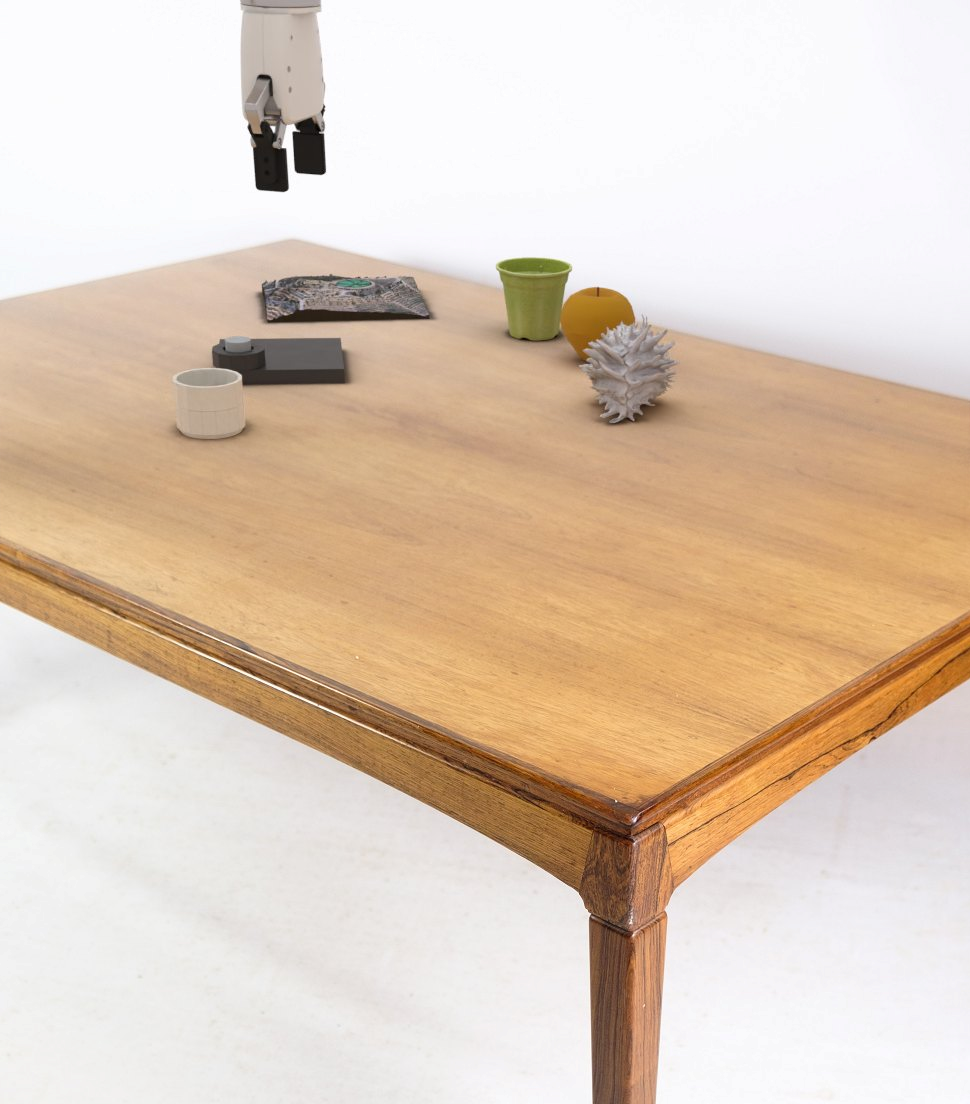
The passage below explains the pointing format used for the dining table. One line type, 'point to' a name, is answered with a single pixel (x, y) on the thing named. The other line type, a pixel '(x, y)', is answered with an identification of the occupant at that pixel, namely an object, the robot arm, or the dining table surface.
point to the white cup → (209, 403)
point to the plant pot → (534, 295)
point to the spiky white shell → (629, 369)
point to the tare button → (238, 344)
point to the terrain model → (342, 299)
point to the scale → (285, 361)
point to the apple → (593, 316)
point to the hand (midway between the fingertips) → (292, 181)
